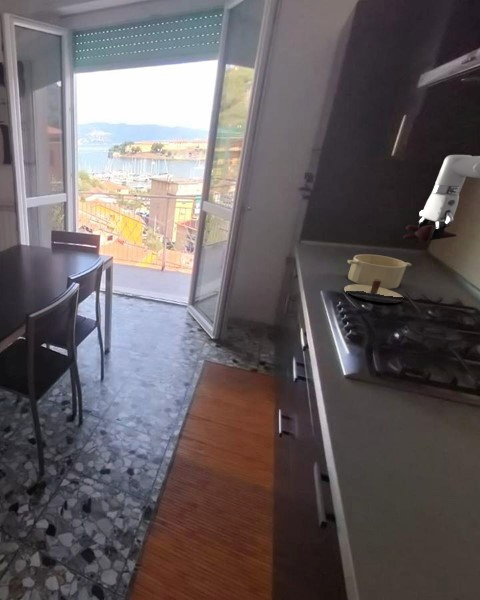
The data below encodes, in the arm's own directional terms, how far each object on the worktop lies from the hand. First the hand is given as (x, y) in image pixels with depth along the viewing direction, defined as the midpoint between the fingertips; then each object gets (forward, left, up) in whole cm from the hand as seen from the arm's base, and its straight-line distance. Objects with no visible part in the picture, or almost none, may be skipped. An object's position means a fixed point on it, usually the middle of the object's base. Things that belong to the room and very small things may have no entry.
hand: (427, 235), depth 141 cm
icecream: (0, 0, -3) cm, 3 cm away
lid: (-12, +19, -22) cm, 31 cm away
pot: (+6, +10, -22) cm, 25 cm away
